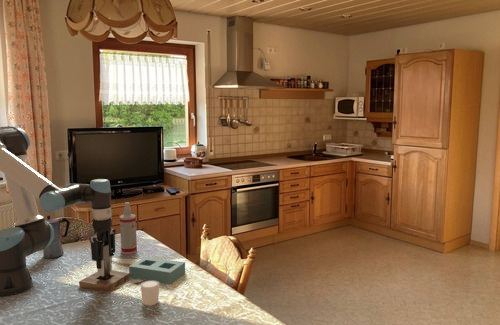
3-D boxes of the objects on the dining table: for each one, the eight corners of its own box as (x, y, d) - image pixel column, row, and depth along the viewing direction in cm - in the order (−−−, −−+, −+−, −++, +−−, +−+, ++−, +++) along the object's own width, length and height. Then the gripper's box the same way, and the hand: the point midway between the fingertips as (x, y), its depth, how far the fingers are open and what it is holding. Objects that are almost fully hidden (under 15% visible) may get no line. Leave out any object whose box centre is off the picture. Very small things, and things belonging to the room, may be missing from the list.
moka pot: (37, 254, 206) (34, 214, 204) (71, 250, 213) (68, 211, 210) (36, 261, 198) (33, 219, 195) (71, 256, 204) (69, 215, 202)
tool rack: (170, 284, 172) (170, 272, 171) (129, 277, 179) (129, 266, 178) (185, 273, 183) (184, 262, 182) (145, 267, 190) (145, 256, 189)
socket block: (108, 292, 164) (107, 286, 164) (79, 287, 169) (79, 281, 169) (130, 278, 177) (129, 273, 177) (102, 274, 182) (102, 268, 182)
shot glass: (152, 295, 161) (151, 278, 160) (163, 301, 157) (163, 283, 156) (137, 302, 156) (136, 284, 155) (148, 307, 152) (148, 289, 151)
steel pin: (106, 285, 171) (104, 247, 168) (98, 284, 172) (96, 246, 170) (112, 281, 174) (110, 244, 172) (104, 280, 176) (102, 243, 174)
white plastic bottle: (121, 249, 213) (119, 201, 210) (136, 248, 215) (134, 200, 212) (121, 254, 206) (119, 204, 202) (137, 253, 208) (135, 203, 205)
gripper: (95, 224, 160) (98, 282, 163) (123, 213, 176) (125, 267, 179) (79, 222, 163) (82, 280, 166) (108, 212, 179) (110, 264, 182)
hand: (104, 273), depth 173 cm, fingers closed on steel pin, 4 cm apart
